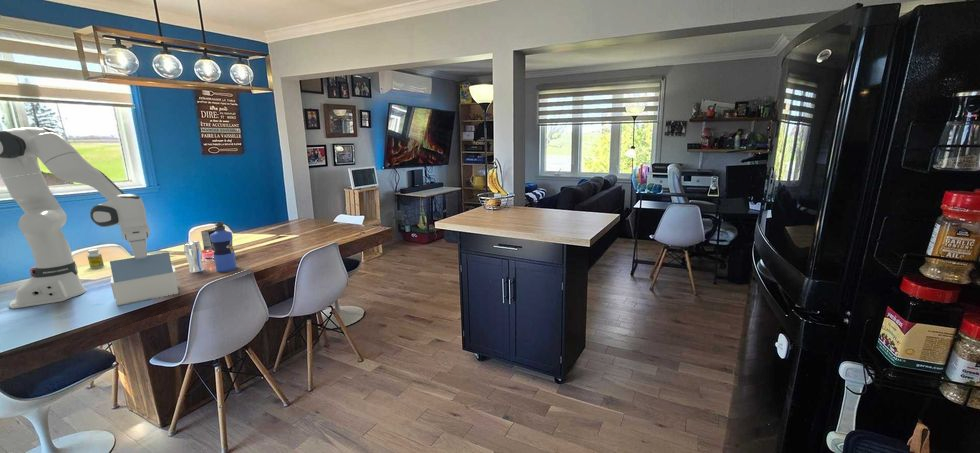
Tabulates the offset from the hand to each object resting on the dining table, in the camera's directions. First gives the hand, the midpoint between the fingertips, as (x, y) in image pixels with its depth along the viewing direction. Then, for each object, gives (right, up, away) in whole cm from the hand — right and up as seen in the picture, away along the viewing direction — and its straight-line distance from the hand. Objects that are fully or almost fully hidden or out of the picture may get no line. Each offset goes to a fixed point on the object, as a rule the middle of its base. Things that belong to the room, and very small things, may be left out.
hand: (142, 264), depth 172 cm
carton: (-1, -14, +4) cm, 14 cm away
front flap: (+2, -1, -3) cm, 4 cm away
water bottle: (+11, -6, +38) cm, 40 cm away
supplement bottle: (-63, -6, +45) cm, 78 cm away
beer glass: (-3, -7, +36) cm, 37 cm away
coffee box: (-10, -2, +61) cm, 62 cm away
